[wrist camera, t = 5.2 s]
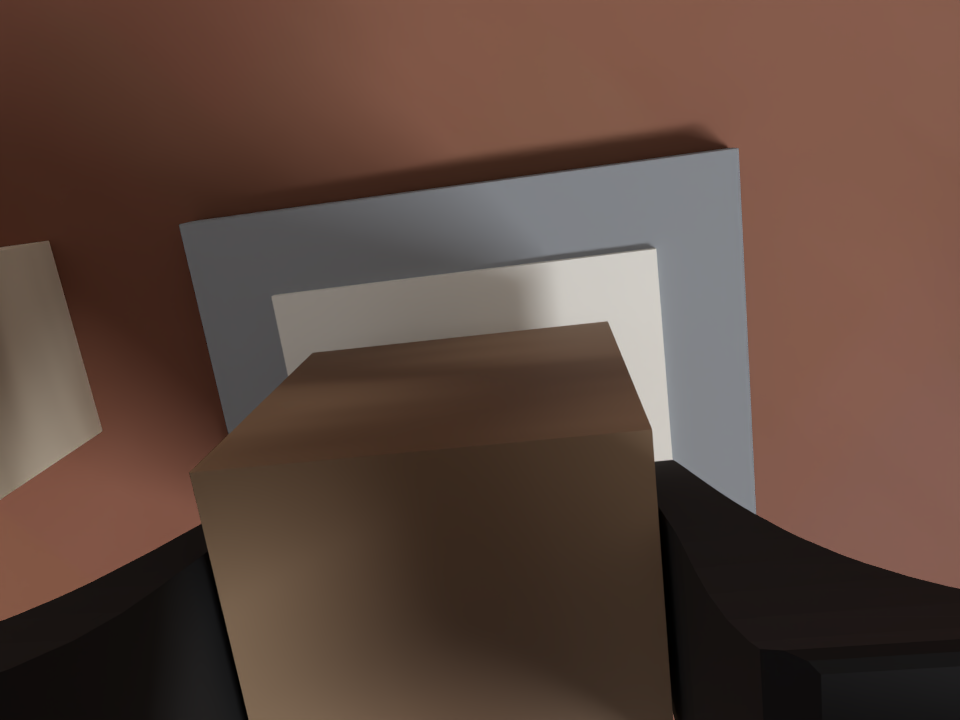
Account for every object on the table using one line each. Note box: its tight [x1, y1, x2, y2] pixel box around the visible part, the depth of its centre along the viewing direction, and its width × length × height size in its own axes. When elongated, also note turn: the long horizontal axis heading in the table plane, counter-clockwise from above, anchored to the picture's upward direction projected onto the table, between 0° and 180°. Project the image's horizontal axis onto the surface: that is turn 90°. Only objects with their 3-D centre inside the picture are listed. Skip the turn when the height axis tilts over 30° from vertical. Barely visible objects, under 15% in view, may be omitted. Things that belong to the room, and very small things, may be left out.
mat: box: [179, 148, 756, 514], centre depth 15 cm, size 10×10×1 cm
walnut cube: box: [189, 321, 673, 720], centre depth 11 cm, size 5×5×5 cm
